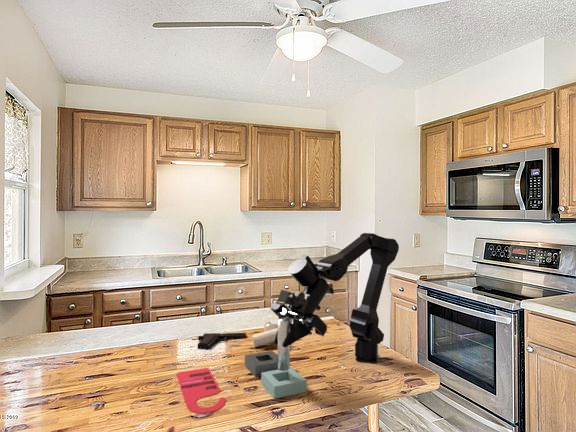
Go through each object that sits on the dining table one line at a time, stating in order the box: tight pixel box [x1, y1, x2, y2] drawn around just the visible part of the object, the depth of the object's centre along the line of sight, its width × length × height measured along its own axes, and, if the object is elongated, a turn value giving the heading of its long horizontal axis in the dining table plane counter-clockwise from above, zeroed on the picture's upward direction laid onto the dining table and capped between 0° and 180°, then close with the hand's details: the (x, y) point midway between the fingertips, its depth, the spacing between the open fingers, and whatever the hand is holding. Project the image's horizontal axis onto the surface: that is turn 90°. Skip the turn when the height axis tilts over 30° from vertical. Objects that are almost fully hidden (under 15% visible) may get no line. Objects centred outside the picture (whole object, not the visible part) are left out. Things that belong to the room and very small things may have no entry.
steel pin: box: [277, 317, 291, 371], centre depth 101 cm, size 3×3×13 cm
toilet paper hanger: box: [251, 321, 278, 348], centre depth 141 cm, size 21×11×7 cm, turn 10°
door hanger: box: [175, 367, 227, 414], centre depth 100 cm, size 9×1×25 cm
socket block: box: [244, 350, 278, 378], centre depth 114 cm, size 9×9×3 cm
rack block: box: [260, 366, 307, 399], centre depth 101 cm, size 9×9×3 cm
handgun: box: [197, 332, 247, 350], centre depth 136 cm, size 2×17×12 cm
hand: (279, 344), depth 101 cm, fingers closed on steel pin, 3 cm apart
